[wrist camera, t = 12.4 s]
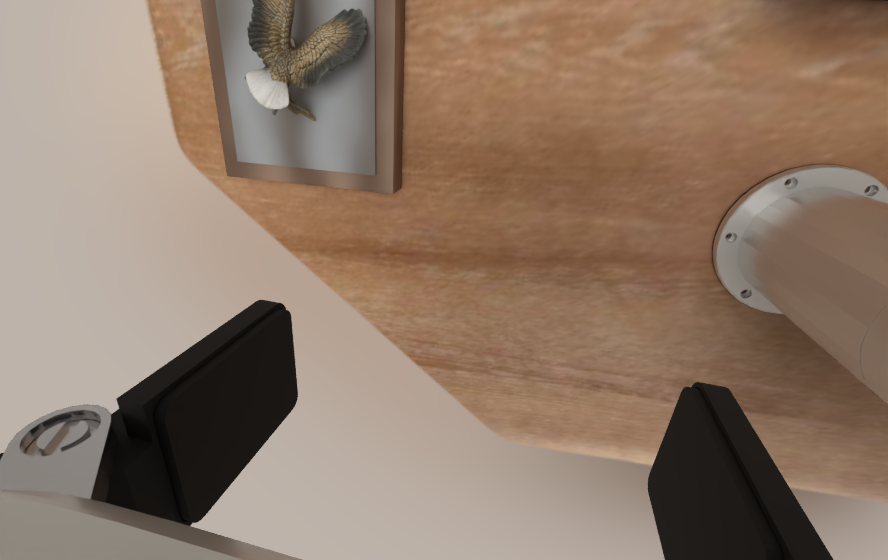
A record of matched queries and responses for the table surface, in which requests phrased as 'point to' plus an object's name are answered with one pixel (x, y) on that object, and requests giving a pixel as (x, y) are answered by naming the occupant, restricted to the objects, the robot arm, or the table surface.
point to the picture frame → (313, 101)
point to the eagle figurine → (297, 52)
